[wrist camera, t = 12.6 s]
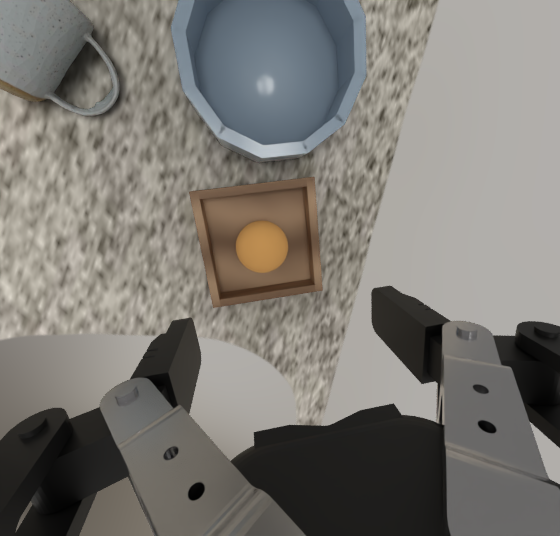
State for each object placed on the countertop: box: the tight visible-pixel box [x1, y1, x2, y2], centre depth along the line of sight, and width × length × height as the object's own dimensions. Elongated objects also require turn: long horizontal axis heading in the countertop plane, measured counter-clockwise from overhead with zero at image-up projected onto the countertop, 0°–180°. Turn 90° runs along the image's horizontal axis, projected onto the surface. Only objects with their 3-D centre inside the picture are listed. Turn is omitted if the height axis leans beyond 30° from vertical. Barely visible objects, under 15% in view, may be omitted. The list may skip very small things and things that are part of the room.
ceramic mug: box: [0, 0, 120, 116], centre depth 20 cm, size 11×8×8 cm
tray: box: [189, 177, 322, 308], centre depth 29 cm, size 12×12×3 cm
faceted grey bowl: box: [171, 0, 366, 163], centre depth 23 cm, size 15×15×5 cm
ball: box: [236, 221, 288, 273], centre depth 27 cm, size 5×5×5 cm
